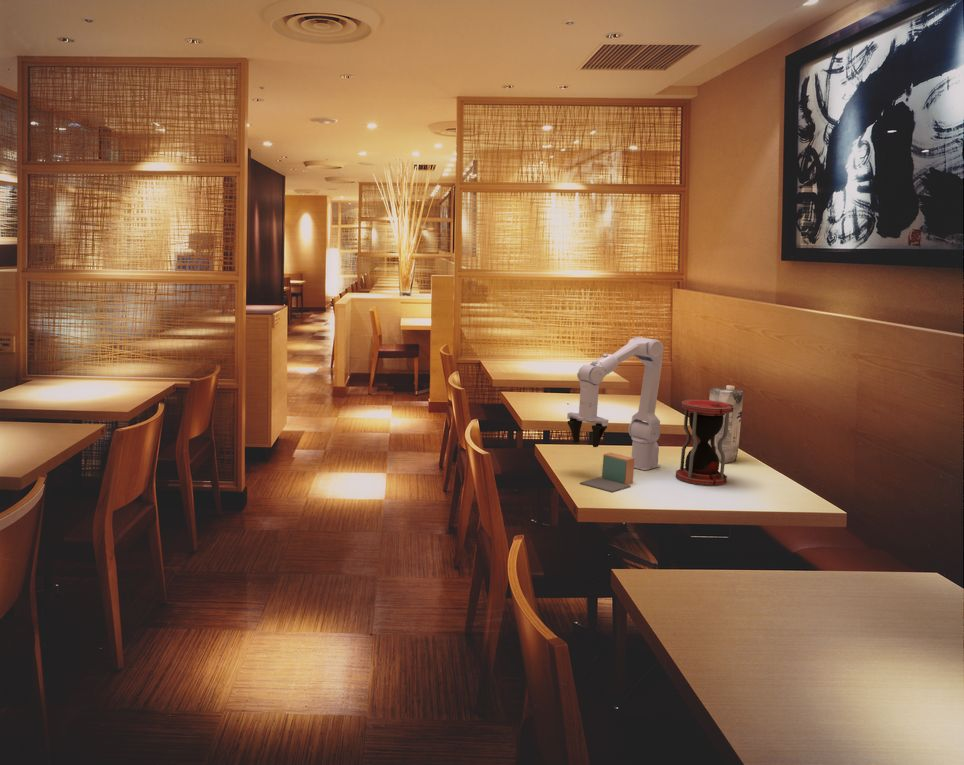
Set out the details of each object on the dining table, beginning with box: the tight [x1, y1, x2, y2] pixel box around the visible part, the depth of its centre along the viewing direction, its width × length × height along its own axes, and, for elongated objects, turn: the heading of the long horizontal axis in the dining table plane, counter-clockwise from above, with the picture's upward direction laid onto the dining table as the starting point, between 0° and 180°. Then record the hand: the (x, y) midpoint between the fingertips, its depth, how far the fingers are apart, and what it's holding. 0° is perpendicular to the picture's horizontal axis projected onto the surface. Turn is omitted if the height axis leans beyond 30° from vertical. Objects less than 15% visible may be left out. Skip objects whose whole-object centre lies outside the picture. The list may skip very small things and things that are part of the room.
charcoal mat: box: [579, 477, 632, 493], centre depth 261 cm, size 10×12×1 cm
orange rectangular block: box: [601, 452, 635, 485], centre depth 266 cm, size 4×9×8 cm, turn 47°
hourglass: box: [675, 399, 733, 487], centre depth 272 cm, size 16×16×25 cm
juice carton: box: [708, 385, 744, 464], centre depth 300 cm, size 9×10×27 cm
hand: (585, 444), depth 270 cm, fingers open, 7 cm apart
